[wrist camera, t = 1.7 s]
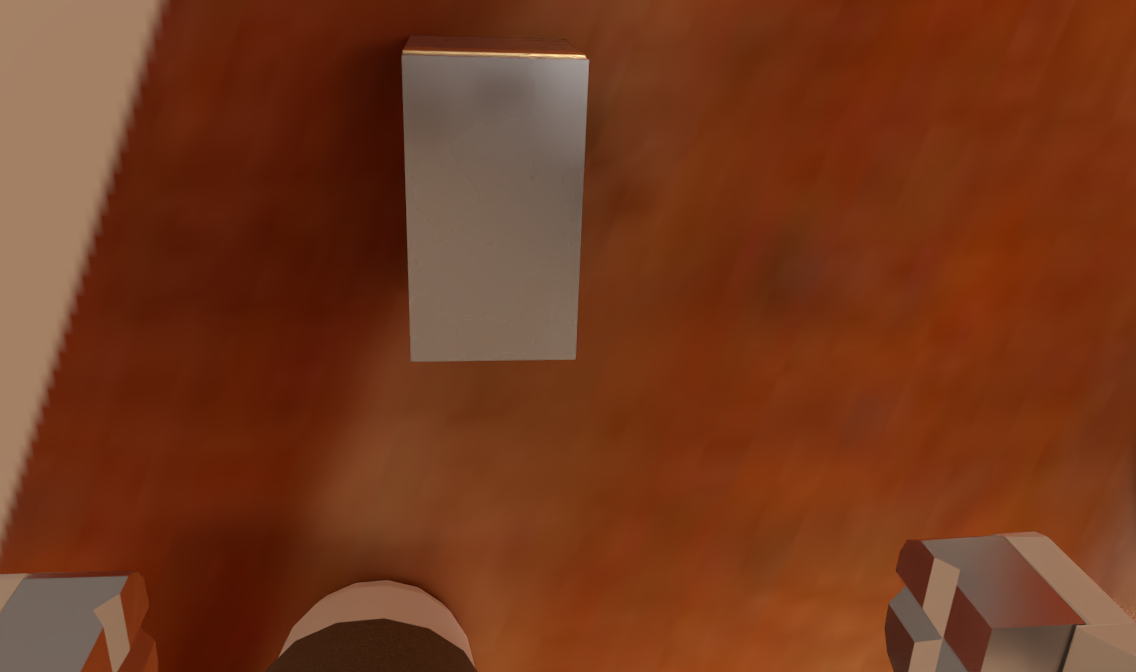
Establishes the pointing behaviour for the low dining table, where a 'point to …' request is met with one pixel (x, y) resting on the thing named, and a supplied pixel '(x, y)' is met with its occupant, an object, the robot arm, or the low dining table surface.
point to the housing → (493, 196)
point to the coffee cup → (376, 633)
